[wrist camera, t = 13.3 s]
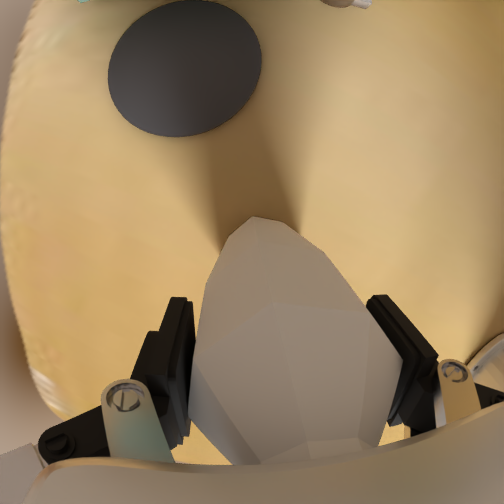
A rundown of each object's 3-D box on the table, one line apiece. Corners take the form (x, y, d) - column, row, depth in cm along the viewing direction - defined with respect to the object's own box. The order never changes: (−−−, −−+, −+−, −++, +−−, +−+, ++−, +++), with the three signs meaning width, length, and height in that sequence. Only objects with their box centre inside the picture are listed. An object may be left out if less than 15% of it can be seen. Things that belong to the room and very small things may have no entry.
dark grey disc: (258, 137, 15) (258, 136, 15) (107, 142, 15) (104, 142, 15) (262, 2, 12) (263, -1, 12) (118, 12, 12) (116, 10, 11)
